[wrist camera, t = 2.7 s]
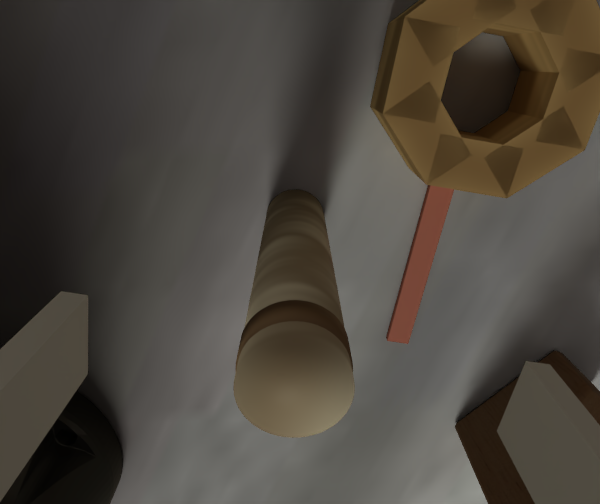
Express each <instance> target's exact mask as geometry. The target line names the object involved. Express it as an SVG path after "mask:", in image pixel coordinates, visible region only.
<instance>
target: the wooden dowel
mask: <svg viewBox="0 0 600 504" xmlns="http://www.w3.org/2000/svg"><path fill="white" fill-rule="evenodd" d="M354 391H355V385H354V378H353V364H352V357H351V352H350V347H349V341H348V337H347V333H346V331H345V328H344V323H343V317H342V312H341V306H340V301H339V295H338V290H337V284H336V279H335V273H334V268H333V262H332V257H331V251H330V246H329V240H328V235H327V229H326V224H325V218H324V213H323V209H322V206H321V204H320V202H319V201H318V200H317V199H316V198H315V197H314V196H313V195H312V194H310V193H308V192H306V191H303V190H297V189H294V190H287V191H284V192H282V193H280V194H279V195H277V196H276V197H275V198H274V199H273V200H272V202H271V203H270V205H269V207H268V210H267V215H266V220H265V225H264V231H263V236H262V241H261V246H260V251H259V256H258V261H257V266H256V272H255V277H254V282H253V287H252V292H251V297H250V302H249V308H248V313H247V318H246V323H245V328H244V330H243V333H242V336H241V341H240V345H239V350H238V355H237V360H236V374H235V380H234V396H235V400H236V403H237V405H238V408H239V409H240V411H241V412H242V414H243V415H244V416H245V417H246V419H248V420H249V421H250V422H251V423H252V424H253V425H255V426H256V427H258V428H259V429H261V430H263V431H265V432H268V433H270V434H274V435H277V436H282V437H292V438H293V437H306V436H311V435H315V434H318V433H321V432H323V431H325V430H327V429H329V428H330V427H332V426H334V425H335V424H336V423H337V422H339V421H340V420H341V419H342V418H343V416H344V415H345V414H346V413H347V411H348V410H349V408H350V406H351V404H352V401H353V397H354Z"/></svg>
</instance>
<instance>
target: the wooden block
mask: <svg viewBox="0 0 600 504" xmlns="http://www.w3.org/2000/svg"><path fill="white" fill-rule="evenodd" d="M538 363H544V364H550V365H551V366H552V368H553V369H554V370H555V371H556V372H557V374H558V375H559V376H560V377H561V379H562V380H563V381H564V382H565V383H566V385H567V386H568V387H569V388H570V390H571V391H572V392H573V393H574V394H575V396H576V397H577V398H578V399H579V401H580V402H581V403H582V404H583V405H584V407H585V408H586V409H587V410H588V412H589V413H590V414H591V415H592V416H593V418H594V419H595V420H596V421H597V423H598V424H599V425H600V391H599V390H598V389H597V388H596V387H595V386H594V385H593V384H592V383H591V382H590V381H589V380H588V379H587V378H586V377H585V376H584V375H583V374H582V373H581V372H580V371H579V370H578V369H577V368H576V367H575V366H574V365H573V364H572V363H571V362H570V361H569V360H568V359H567V358H566V357H565V356H564V355H563V354H562V353H560V352H558V351H553V352H551V353H550V354H549V355H547V356H546V357H545V358H543V359H542V360H541V361H539V362H538ZM518 379H519V377H518V378H516V379H515V380H514V381H512V382H511V383H510V384H508V385H507V386H506V387H504V388H503V389H502V390H500V391H499V392H498V393H496V394H495V395H494V396H492V397H491V398H490V399H488V400H487V401H486V402H484V403H483V404H482V405H480V406H479V407H478V408H476V409H475V410H474V411H472V412H471V413H470V414H468V415H467V416H466V417H464V418H463V419H461V420H460V421H459V422H457V424H456V425H455V428H456V431H457V433H458V435H459V438H460V440H461V442H462V445H463V447H464V449H465V451H466V454H467V456H468V458H469V461H470V463H471V465H472V468H473V470H474V472H475V475H476V477H477V479H478V481H479V484H480V486H481V488H482V491H483V493H484V495H485V498H486V500H487V502H488V504H535V503H534V501H533V499H532V497H531V495H530V493H529V492H528V490H527V488H526V486H525V484H524V482H523V480H522V478H521V476H520V474H519V473H518V471H517V469H516V467H515V465H514V463H513V461H512V459H511V457H510V455H509V454H508V452H507V450H506V448H505V446H504V444H503V442H502V440H501V438H500V436H499V435H498V433H497V429H498V427H499V424H500V422H501V420H502V417H503V415H504V412H505V410H506V408H507V405H508V403H509V400H510V398H511V396H512V393H513V391H514V388H515V386H516V384H517V381H518Z"/></svg>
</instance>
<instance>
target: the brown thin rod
mask: <svg viewBox="0 0 600 504" xmlns="http://www.w3.org/2000/svg"><path fill="white" fill-rule="evenodd" d="M453 191H454V189H449V188H443V187H437V186H431V185H428V188H427V192H426V195H425V199H424V203H423V206H422V210H421V214H420V217H419V221H418V224H417V228H416V232H415V235H414V239H413V242H412V246H411V250H410V253H409V257H408V261H407V264H406V268H405V271H404V275H403V279H402V282H401V286H400V290H399V293H398V297H397V300H396V304H395V308H394V311H393V315H392V319H391V322H390V326H389V329H388V333H387V337H386V338H387V341H392V342H399V343H406V344H408V343H409V339H410V336H411V332H412V329H413V326H414V322H415V319H416V316H417V312H418V309H419V306H420V302H421V299H422V296H423V292H424V289H425V285H426V282H427V279H428V275H429V272H430V269H431V265H432V262H433V259H434V255H435V252H436V249H437V245H438V242H439V238H440V235H441V232H442V228H443V225H444V222H445V218H446V215H447V212H448V208H449V205H450V201H451V198H452V195H453Z"/></svg>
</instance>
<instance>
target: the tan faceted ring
mask: <svg viewBox="0 0 600 504" xmlns="http://www.w3.org/2000/svg"><path fill="white" fill-rule="evenodd" d="M482 32H484V33H489V34H494V35H499V36H503V37H504V39H505V41H506V43H507V45H508V47H509V49H510V51H511V53H512V55H513V57H514V59H515V61H516V63H517V65H518V67H519V69H520V75H519V78H518V81H517V84H516V87H515V90H514V93H513V96H512V100H511V103H510V106H509V109H508V111H507V112H506V113H504V114H502V115H501V116H499V117H498V118H496V119H495V120H493V121H492V122H490V123H489V124H487V125H486V126H484V127H483V128H481V129H480V130H478V131H477V132H475V133H470V132H464V131H459V130H457V128H456V127H455V125H454V123H453V121H452V120H451V118H450V116H449V114H448V113H447V111H446V109H445V107H444V105H443V104H442V102H441V97H442V93H443V89H444V86H445V82H446V78H447V75H448V71H449V67H450V63H451V60H452V56H453V52H455V51H456V50H458V49H459V48H460V47H462V46H463V45H465V44H466V43H467V42H469V41H470V40H472V39H473V38H475V37H476V36H477V35H479V34H480V33H482ZM370 107H371V108H372V110H373V112H374V113H375V115H376V116H377V118H378V120H379V121H380V123H381V124H382V126H383V128H384V129H385V131H386V132H387V134H388V135H389V137H390V139H391V140H392V142H393V143H394V145H395V147H396V148H397V150H398V151H399V153H400V155H401V156H402V158H403V159H404V161H405V163H406V164H407V166H408V167H409V169H410V170H412V171H413V172H414V173H415V174H416V175H417V176H418V177H419V178H420V179H421V180H422V181H423V182H424V183H425V184H427V185H431V186H437V187H443V188H449V189H455V190H461V191H467V192H473V193H479V194H485V195H491V196H497V197H503V198H508V197H510V196H511V195H513V194H514V193H516V192H518V191H519V190H521V189H523V188H524V187H526V186H527V185H529V184H531V183H532V182H534V181H535V180H537V179H539V178H540V177H542V176H543V175H545V174H547V173H548V172H550V171H552V170H553V169H555V168H556V167H558V166H560V165H561V164H563V163H564V162H566V161H568V160H569V159H571V158H573V157H574V156H576V155H577V154H579V153H581V152H582V151H584V150H585V148H586V146H587V143H588V140H589V138H590V135H591V133H592V130H593V128H594V125H595V122H596V120H597V117H598V115H599V112H600V8H599V6H598V3H597V1H596V0H419V1H418V2H416V3H415V4H414V5H412V6H411V7H410V8H408V9H407V10H406V11H404V12H403V13H402V14H400V15H399V16H398V17H396V18H395V19H394V20H392V21H391V22H390V23H388V27H387V32H386V36H385V41H384V46H383V50H382V55H381V60H380V64H379V69H378V73H377V78H376V83H375V87H374V92H373V97H372V101H371V106H370Z"/></svg>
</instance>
